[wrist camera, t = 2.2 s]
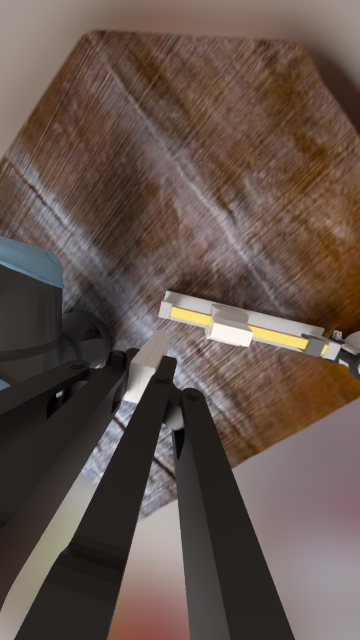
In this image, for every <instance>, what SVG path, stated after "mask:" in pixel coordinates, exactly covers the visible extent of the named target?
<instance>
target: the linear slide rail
mask: <svg viewBox="0 0 360 640" xmlns="http://www.w3.org/2000/svg"><path fill="white" fill-rule="evenodd" d="M212 304H215V305H220V306H224V307H228V308H232V309H236V310H240V311H242V312H244V313H245V314H246V315H248V316H249V319H248V322H247V324H251V325H255V326H259V327H264V328H268V329H272V330H276V331H280V332H284V333H288V334H292V335H296V336H300V337H301V334H302V333H303V334H307V335H312V336H315V337H317V338H319V339H322V340H324V341H326V344H327V345H328V347H327V349H326V351H325V353H324V354H320V356H322V357H323V358H327V359H331V360H335V358H336V356H337V354H338V352H339V350H340V348H341V346H342V345H340V344H338V343H336V342H334V341H331V340H329V339H327V338H325V337H323V336H322V334H323V331H324V328H321V327H317V326H313V325H308V324H304V323H300V322H296V321H292V320H288V319H284V318H279V317H275V316H271V315H267V314H263V313H259V312H255V311H250V310H246V309H242V308H238V307H234V306H230V305H225V304H221V303H217V302H213V301H209V300H205V299H201V298H196V297H192V296H188V295H184V294H180V293H176V292H171V291H166V294H165V299H164V300H163V301H162V302H161V307H160V312H159V317H162V318H166V319H171V320H175V321H179V322H183V323H187V324H191V325H195V326H199V327H203V328H205V327H206V325H204V324H200V323H196V322H192V321H188V320H184V319H180V318H176V317H172V316H170V312H171V307H172V306H178V307H182V308H186V309H190V310H194V311H198V312H202V313H206V314H209V313H210V309H211V306H212ZM252 340H256V341H260V342H264V343H268V344H272V345H276V346H280V347H284V348H288V349H292V350H296V351H300V352H302V351H301V350H299V349H298V348H296V347H293V346H289V345H285V344H281V343H277V342H273V341H269V340H265V339H261V338H257V337H253V336H252Z"/></svg>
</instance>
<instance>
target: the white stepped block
mask: <svg viewBox="0 0 360 640" xmlns="http://www.w3.org/2000/svg"><path fill="white" fill-rule="evenodd" d="M209 314H210V315H212V316H211V319H210V323H209V326H208V325H206V327H205V333H206V338H207V339H211V340H215V341H219V342H223V343H227V344H231V345H235V346H240V345H243V346H247V347H249V345H250V342H251V339H252V336H253V333H254V332H253V331H252V330H251V329H250V328H249V327H247V326H246V325H247V322H248V319H249V316H248V315H246V314H245V313H244V312H242V311H240V310H236V309H232V308H228V307H224V306H220V305H215V304H212V306H211V309H210V313H209Z"/></svg>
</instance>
